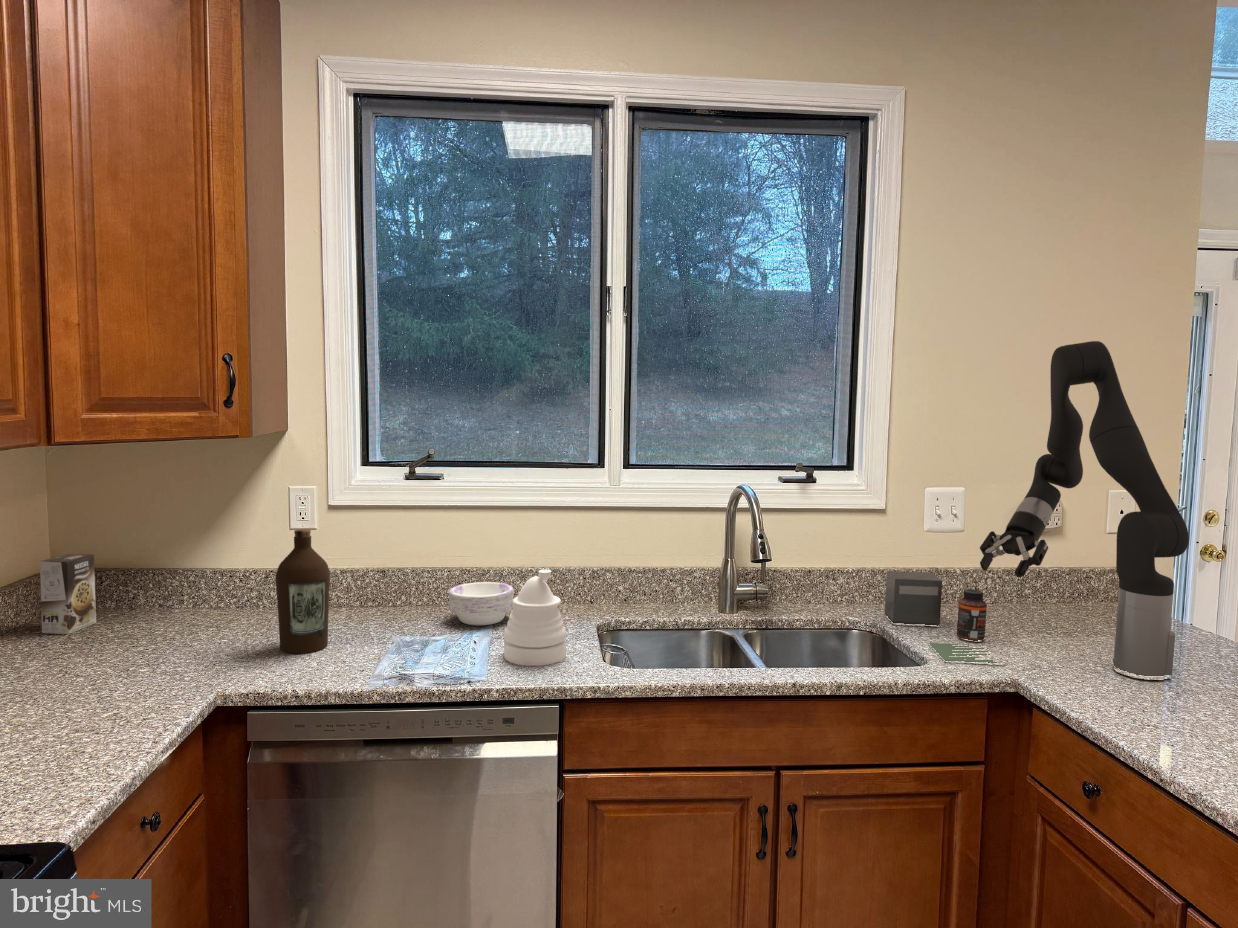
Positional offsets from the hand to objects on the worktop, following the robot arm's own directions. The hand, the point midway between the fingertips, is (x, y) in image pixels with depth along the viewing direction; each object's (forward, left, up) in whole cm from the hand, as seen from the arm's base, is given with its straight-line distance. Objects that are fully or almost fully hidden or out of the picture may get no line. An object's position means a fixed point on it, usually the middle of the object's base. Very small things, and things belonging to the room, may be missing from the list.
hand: (999, 571), depth 189 cm
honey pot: (+104, +35, -15) cm, 111 cm away
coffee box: (+210, +34, -15) cm, 213 cm away
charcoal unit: (+18, -6, -15) cm, 24 cm away
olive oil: (+153, +38, -15) cm, 158 cm away
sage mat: (+13, +19, -15) cm, 27 cm away
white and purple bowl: (+122, +12, -15) cm, 123 cm away
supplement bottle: (+8, +7, -15) cm, 18 cm away
